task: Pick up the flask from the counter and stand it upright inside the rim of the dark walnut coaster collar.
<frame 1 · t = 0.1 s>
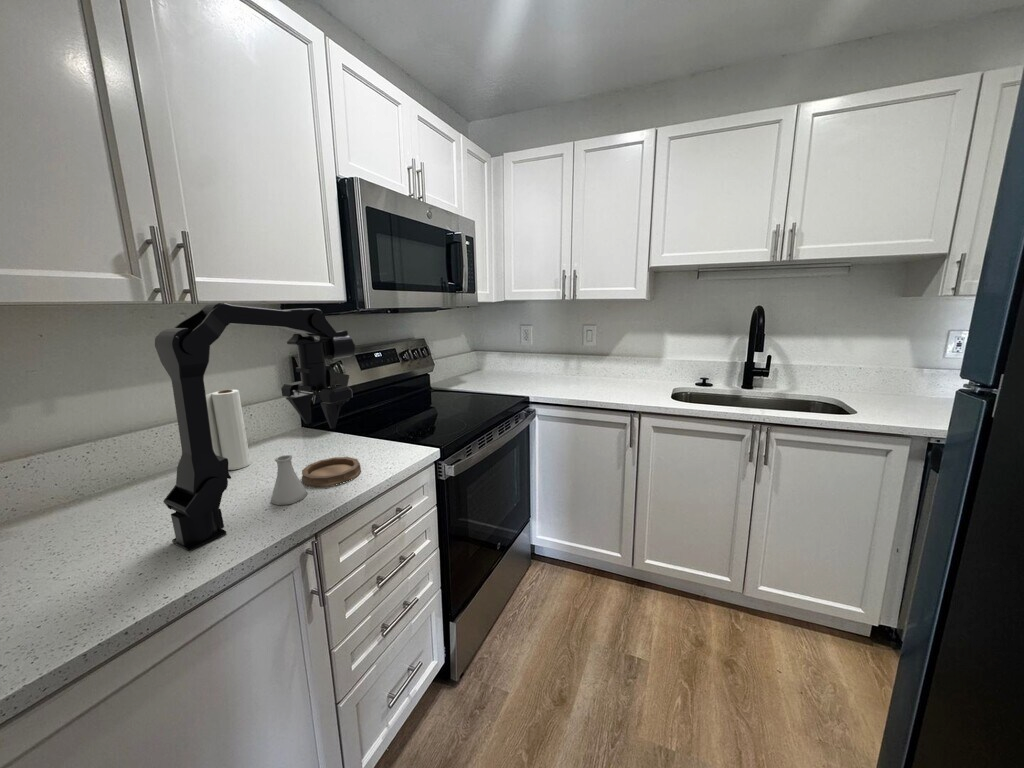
hand: (320, 425, 99), 14 cm above the worktop, tool pointing down, fingers open, 9 cm apart
paper towel roll: (235, 467, 112), on the worktop
flask: (289, 499, 93), on the worktop
walnut collar: (332, 475, 105), on the worktop
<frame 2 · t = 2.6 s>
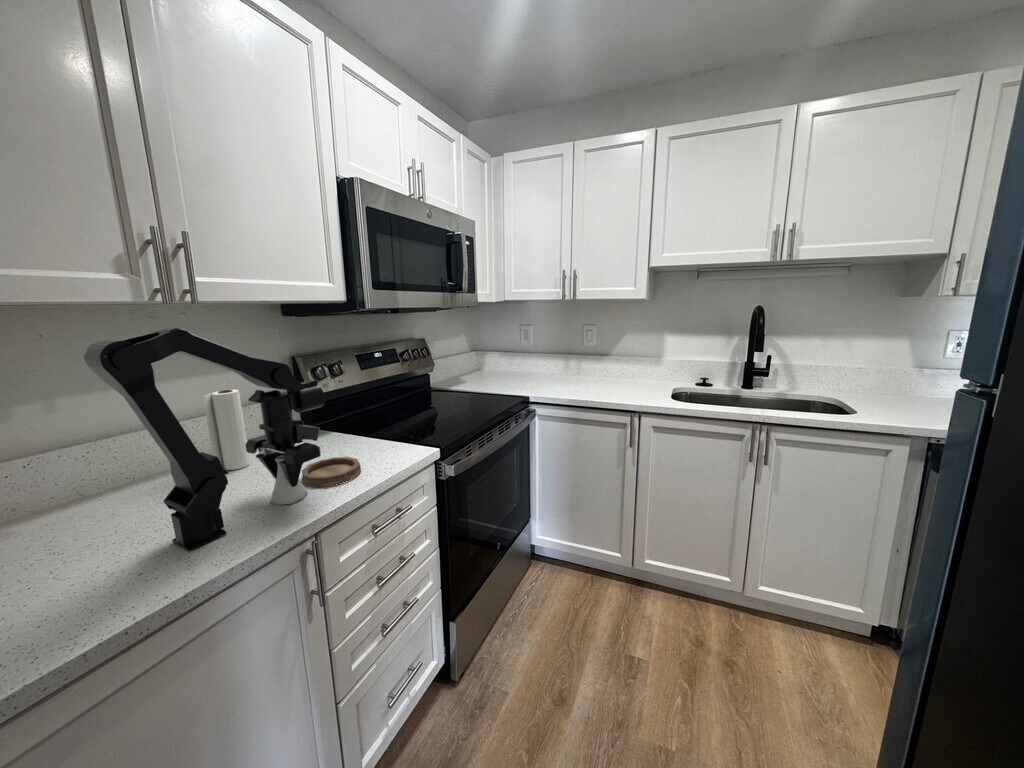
hand: (287, 484, 92), 4 cm above the worktop, tool pointing down, fingers closed on flask, 5 cm apart
flask: (289, 499, 93), on the worktop, touching gripper
everything else where it was.
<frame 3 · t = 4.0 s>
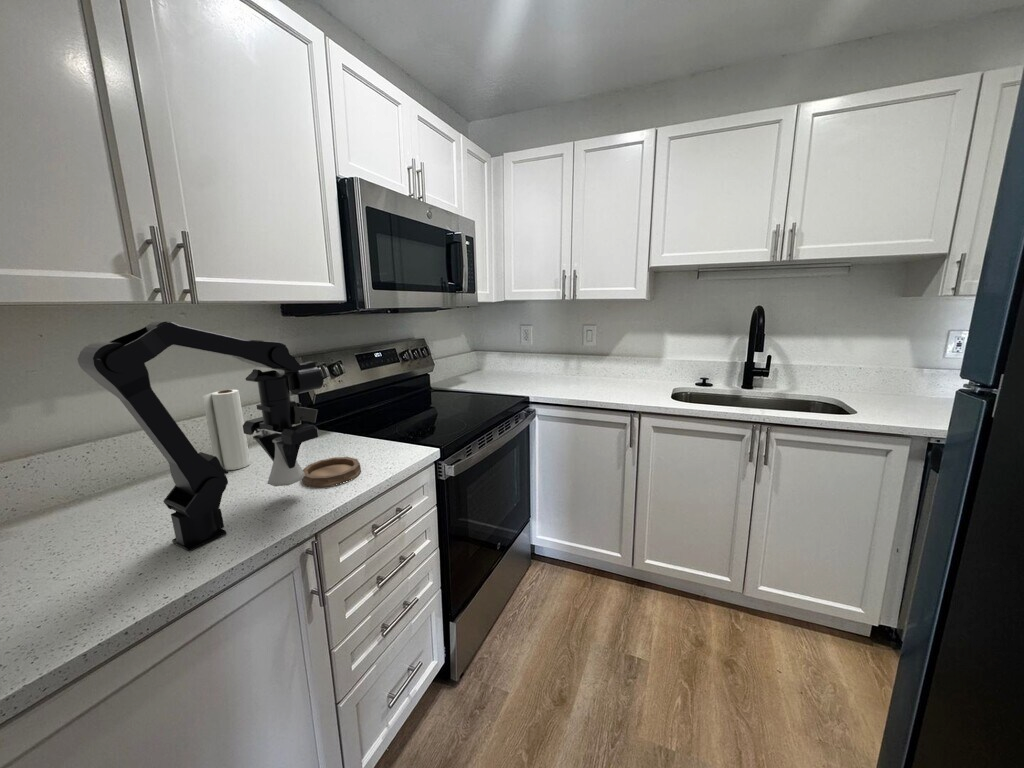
hand: (285, 465, 91), 8 cm above the worktop, tool pointing down, fingers closed on flask, 5 cm apart
flask: (287, 481, 92), point 4 cm above the worktop, touching gripper
everything else where it was.
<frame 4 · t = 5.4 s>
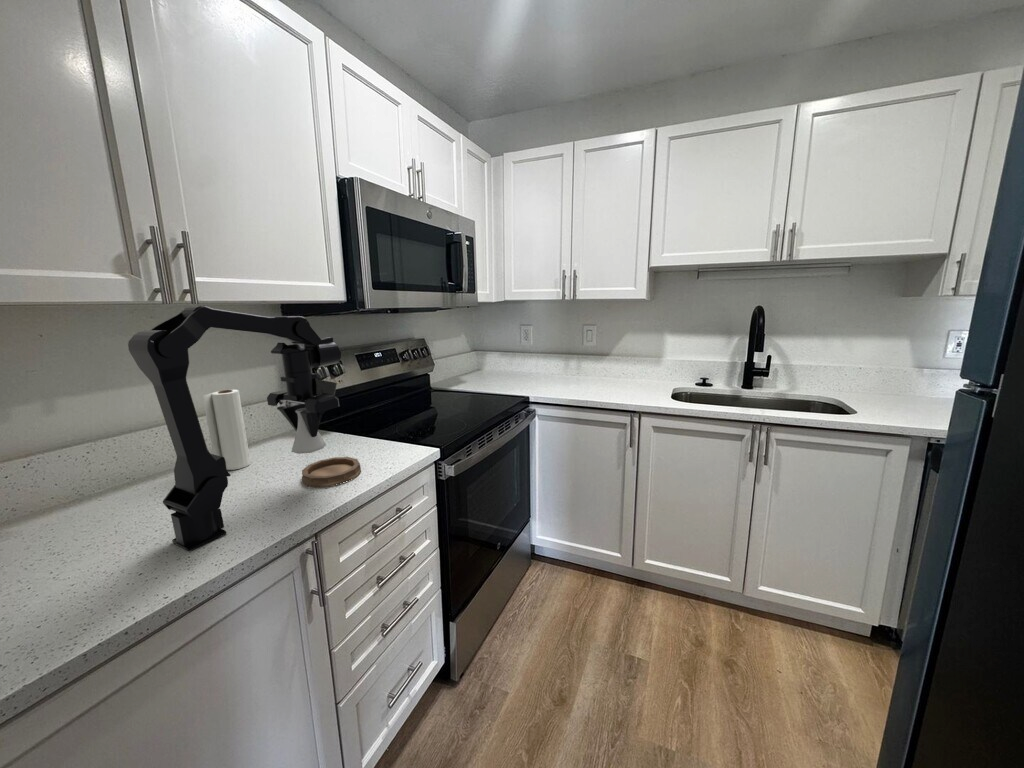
hand: (307, 435, 97), 13 cm above the worktop, tool pointing down, fingers closed on flask, 5 cm apart
flask: (309, 450, 98), point 9 cm above the worktop, touching gripper
everything else where it was.
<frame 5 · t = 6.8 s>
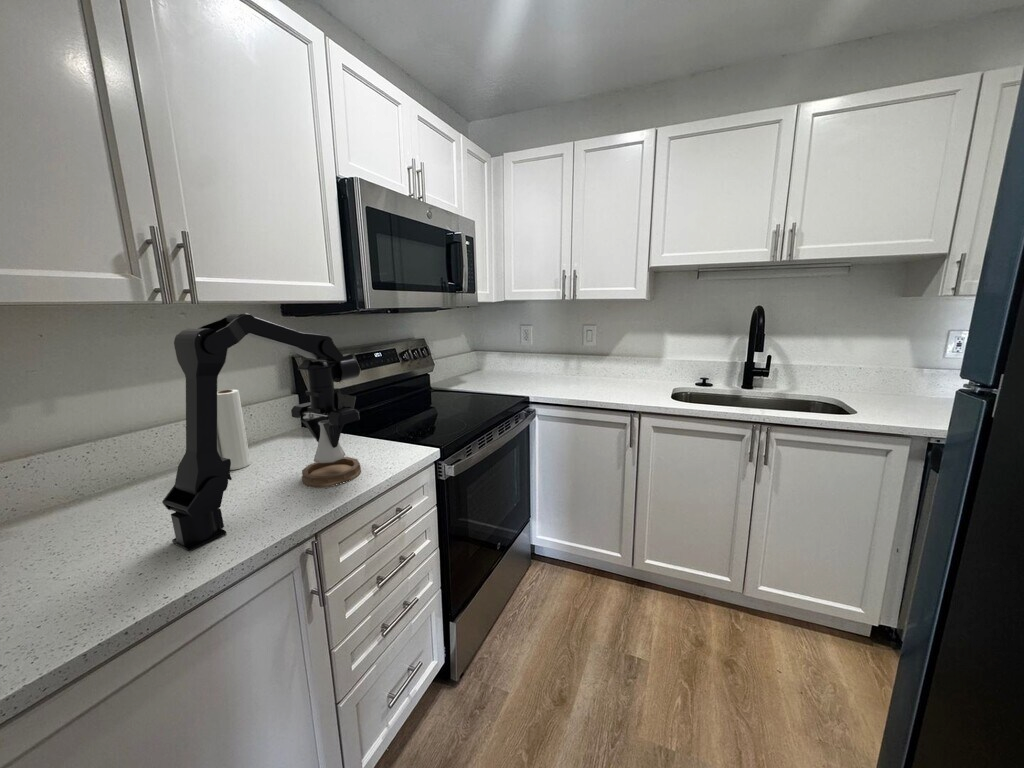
hand: (328, 445, 103), 8 cm above the worktop, tool pointing down, fingers closed on flask, 5 cm apart
flask: (330, 459, 104), point 4 cm above the worktop, touching gripper
everything else where it was.
when the fingers open (6 cm above the worktop, at t = 8.1 s): flask drops 2 cm, resting on walnut collar.
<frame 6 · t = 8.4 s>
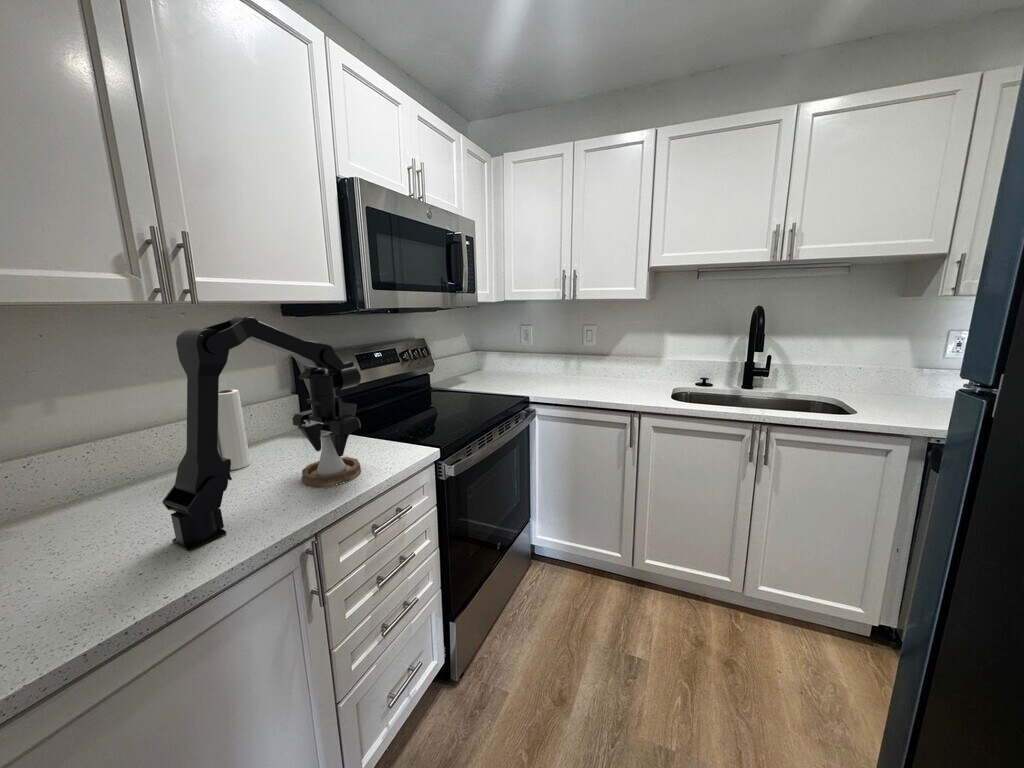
hand: (329, 453, 104), 6 cm above the worktop, tool pointing down, fingers open, 8 cm apart
flask: (331, 473, 105), point 1 cm above the worktop, touching walnut collar
everything else where it was.
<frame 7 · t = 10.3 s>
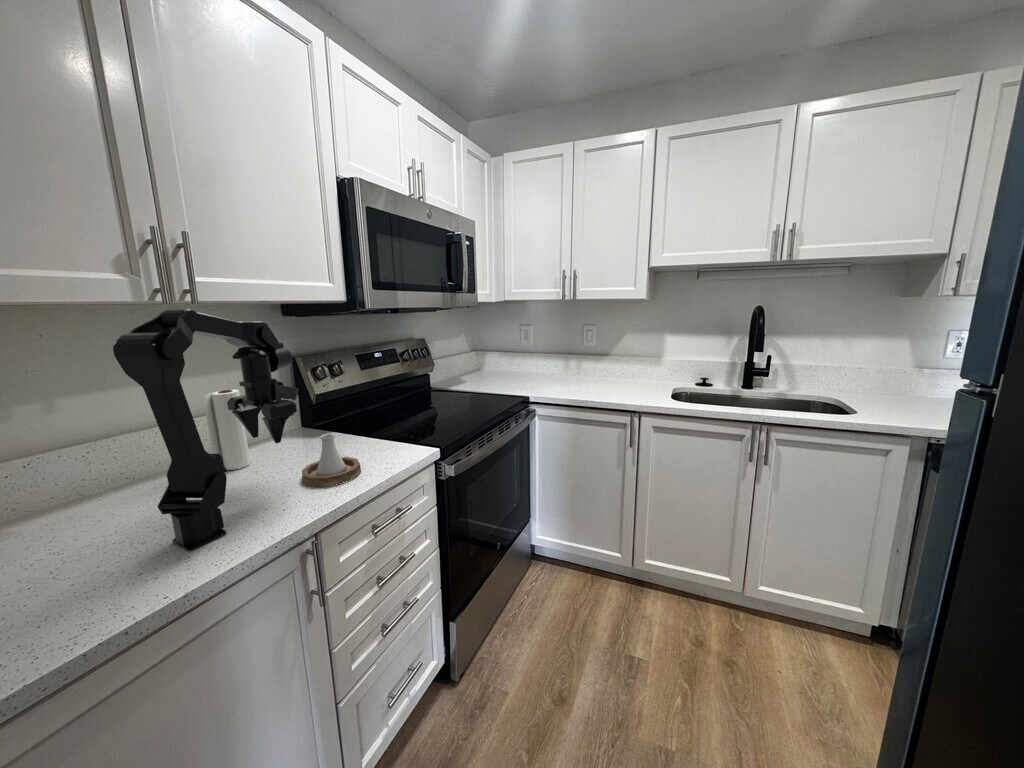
hand: (266, 440, 97), 12 cm above the worktop, tool pointing down, fingers open, 9 cm apart
nothing on the worktop moved.
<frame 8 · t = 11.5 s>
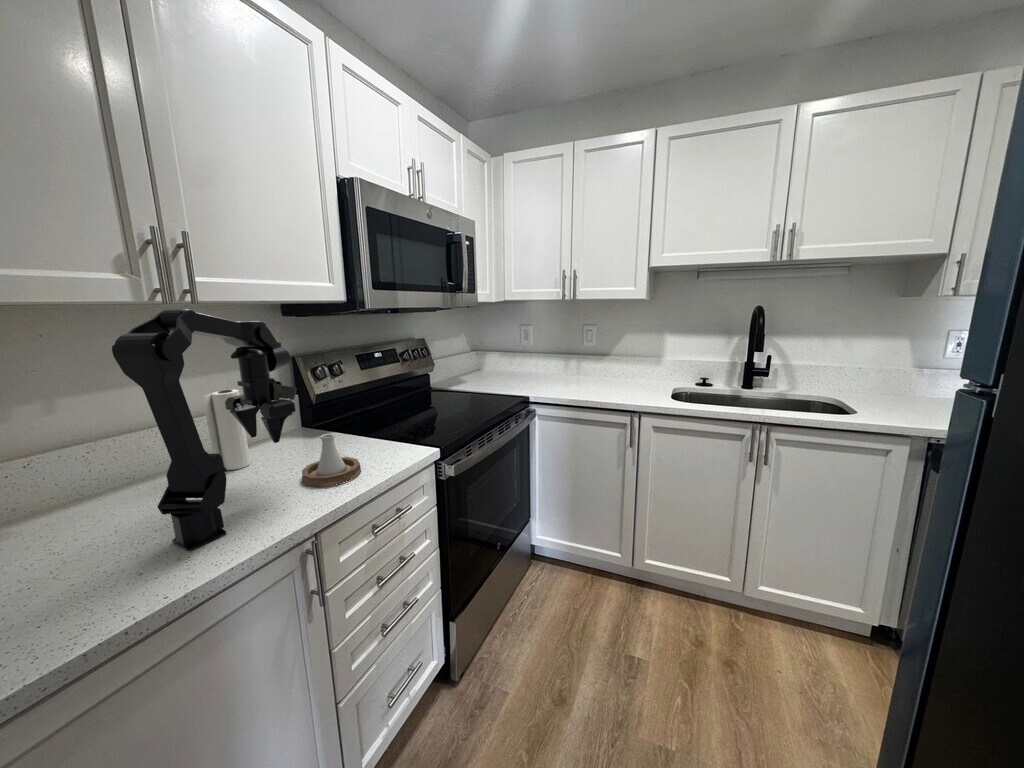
hand: (265, 439, 97), 12 cm above the worktop, tool pointing down, fingers open, 9 cm apart
nothing on the worktop moved.
at the end: flask 0.1 cm off-centre on the walnut collar, point 0.6 cm above the walnut collar's base; flask tilted 0°; the gripper is holding nothing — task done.
